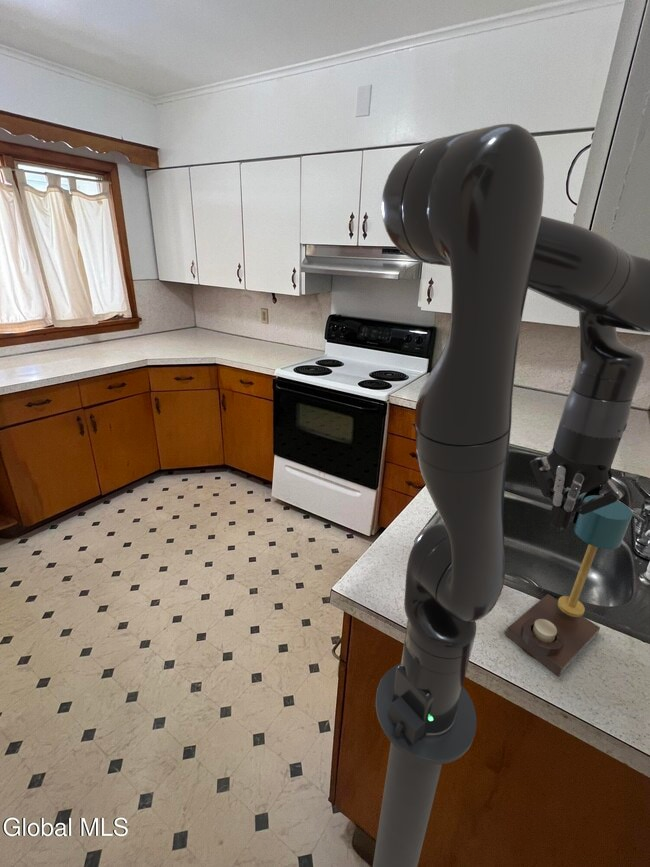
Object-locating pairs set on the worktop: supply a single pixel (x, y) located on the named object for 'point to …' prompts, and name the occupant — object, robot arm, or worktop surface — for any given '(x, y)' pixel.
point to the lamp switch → (544, 630)
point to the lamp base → (567, 641)
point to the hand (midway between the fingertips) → (558, 526)
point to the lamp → (595, 545)
